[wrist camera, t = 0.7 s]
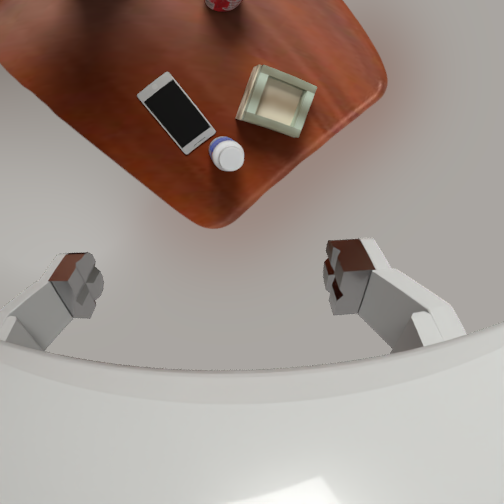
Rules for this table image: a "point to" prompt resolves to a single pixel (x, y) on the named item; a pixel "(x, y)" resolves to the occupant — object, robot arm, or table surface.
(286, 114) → the notched stand
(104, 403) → the robot arm
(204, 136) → the smartphone
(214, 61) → the table surface
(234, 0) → the soda can
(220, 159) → the pill bottle
